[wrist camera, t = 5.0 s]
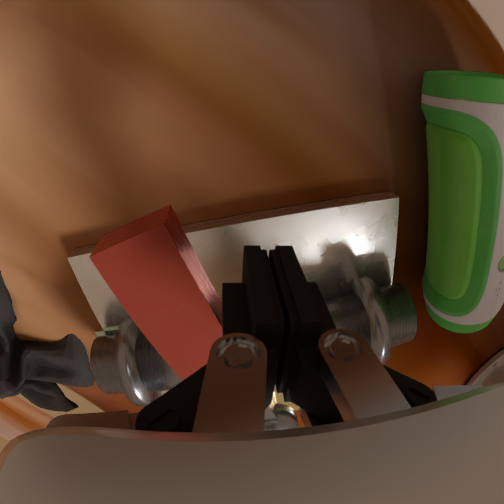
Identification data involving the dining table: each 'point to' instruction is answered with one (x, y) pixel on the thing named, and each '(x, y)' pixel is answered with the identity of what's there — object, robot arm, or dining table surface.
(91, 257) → the lever
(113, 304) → the valve pipe
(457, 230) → the speaker
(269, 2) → the dining table surface
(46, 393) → the cloth
